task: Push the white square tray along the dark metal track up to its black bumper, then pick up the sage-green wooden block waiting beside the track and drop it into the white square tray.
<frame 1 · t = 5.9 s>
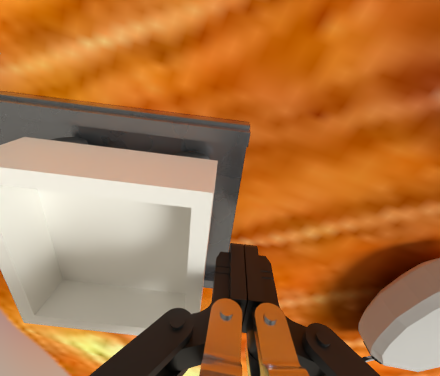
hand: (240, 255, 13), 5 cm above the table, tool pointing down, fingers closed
robot toy: (434, 295, 21), on the table
white square tray: (123, 234, 14), point 4 cm above the table, slide at 1.6 cm, touching gripper
track: (84, 193, 17), on the table
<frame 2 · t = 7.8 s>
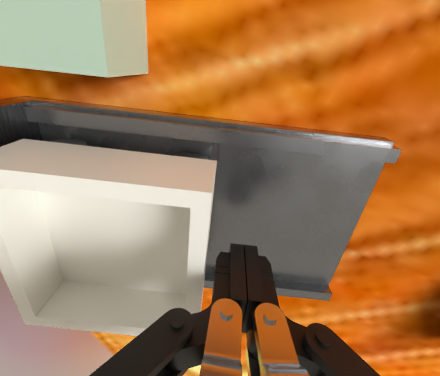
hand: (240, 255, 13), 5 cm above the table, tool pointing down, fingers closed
block: (99, 15, 12), on the table
white square tray: (123, 235, 14), point 4 cm above the table, slide at 10.0 cm, touching gripper
track: (199, 206, 17), on the table
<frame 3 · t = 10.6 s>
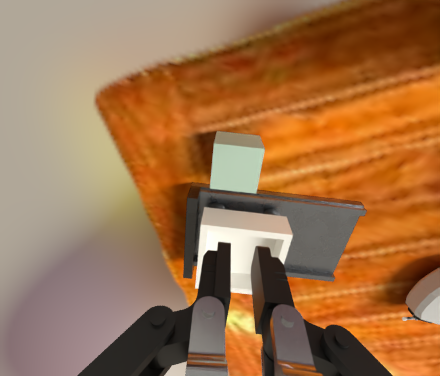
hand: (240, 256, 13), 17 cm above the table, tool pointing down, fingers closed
block: (235, 153, 29), on the table
white square tray: (239, 247, 30), point 4 cm above the table, slide at 10.0 cm
track: (266, 231, 34), on the table
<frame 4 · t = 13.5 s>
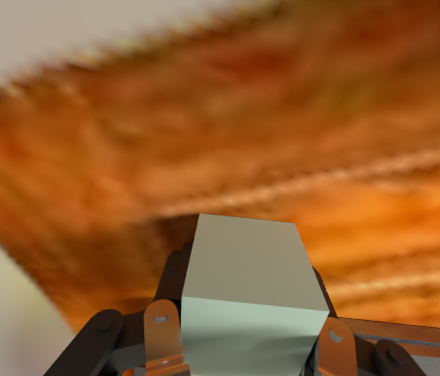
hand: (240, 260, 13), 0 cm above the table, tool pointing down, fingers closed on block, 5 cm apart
block: (240, 254, 13), on the table, touching gripper
track: (296, 367, 19), on the table
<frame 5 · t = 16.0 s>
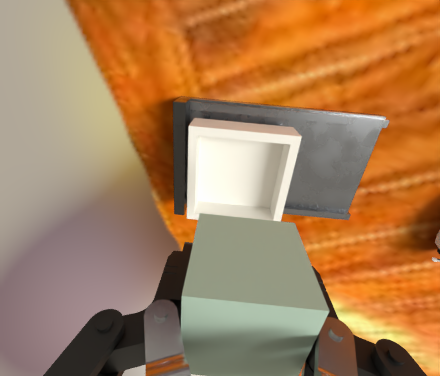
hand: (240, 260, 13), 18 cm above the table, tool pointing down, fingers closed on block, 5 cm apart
block: (240, 253, 14), point 17 cm above the table, touching gripper
white square tray: (237, 170, 25), point 4 cm above the table, slide at 10.0 cm
track: (270, 160, 29), on the table
when the fingers open (7 cm above the table, at t = 18.4 s): block drops 3 cm, resting on white square tray.
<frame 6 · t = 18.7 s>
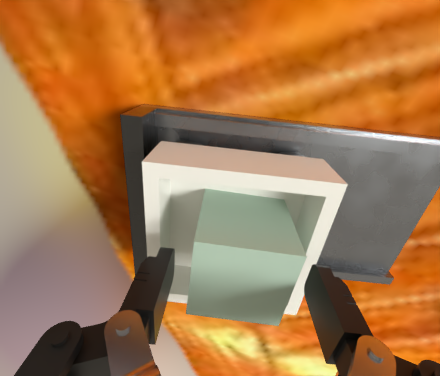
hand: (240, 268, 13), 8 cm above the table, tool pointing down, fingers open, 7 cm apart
block: (238, 226, 16), point 4 cm above the table, touching white square tray
white square tray: (232, 223, 16), point 4 cm above the table, slide at 10.0 cm, touching block
track: (279, 200, 20), on the table
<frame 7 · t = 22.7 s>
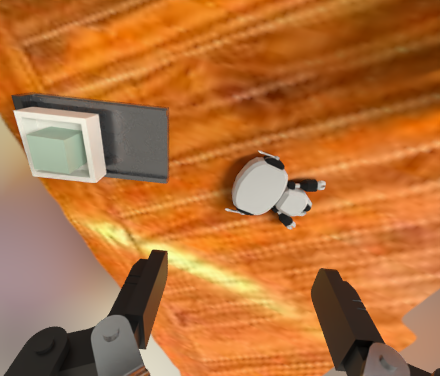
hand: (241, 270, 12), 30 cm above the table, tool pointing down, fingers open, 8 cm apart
robot toy: (272, 186, 44), on the table
block: (70, 144, 37), point 4 cm above the table, touching white square tray
white square tray: (68, 143, 37), point 4 cm above the table, slide at 10.0 cm, touching block
track: (105, 139, 41), on the table
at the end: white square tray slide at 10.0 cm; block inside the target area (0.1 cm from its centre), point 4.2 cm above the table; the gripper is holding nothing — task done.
